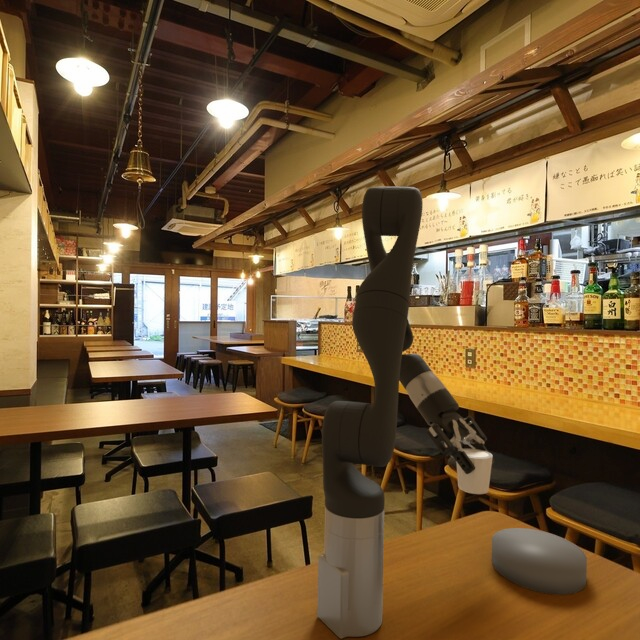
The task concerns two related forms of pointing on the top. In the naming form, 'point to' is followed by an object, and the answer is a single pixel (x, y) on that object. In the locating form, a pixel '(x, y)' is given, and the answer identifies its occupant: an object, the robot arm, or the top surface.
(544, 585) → the stand
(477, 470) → the white cup
